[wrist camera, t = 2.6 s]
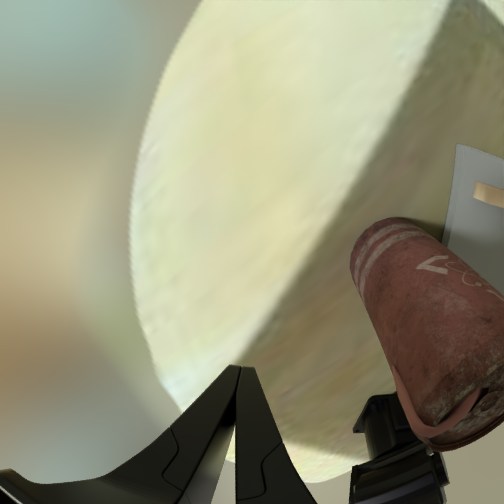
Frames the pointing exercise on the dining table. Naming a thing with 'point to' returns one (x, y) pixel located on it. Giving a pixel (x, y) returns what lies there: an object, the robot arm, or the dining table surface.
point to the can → (434, 332)
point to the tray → (477, 214)
